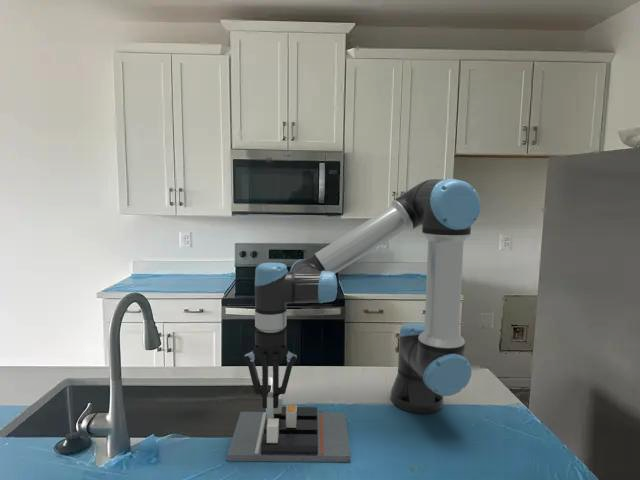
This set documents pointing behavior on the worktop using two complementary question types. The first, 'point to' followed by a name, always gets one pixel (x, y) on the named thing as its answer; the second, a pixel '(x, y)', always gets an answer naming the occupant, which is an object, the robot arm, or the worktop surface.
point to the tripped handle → (291, 416)
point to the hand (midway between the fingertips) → (270, 419)
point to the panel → (251, 435)
